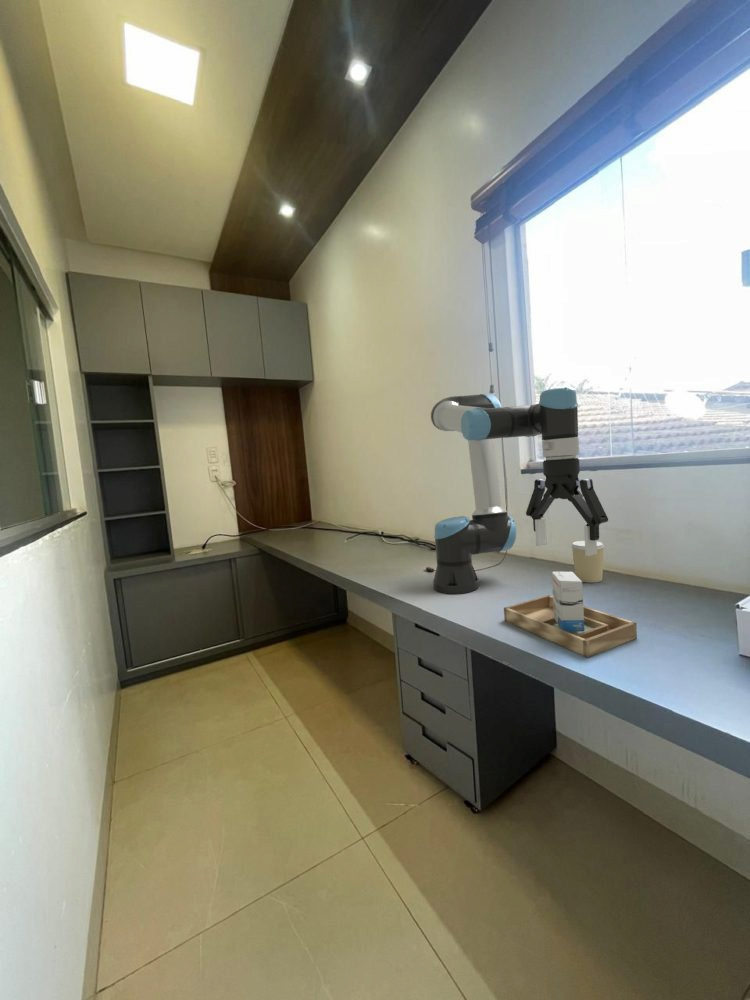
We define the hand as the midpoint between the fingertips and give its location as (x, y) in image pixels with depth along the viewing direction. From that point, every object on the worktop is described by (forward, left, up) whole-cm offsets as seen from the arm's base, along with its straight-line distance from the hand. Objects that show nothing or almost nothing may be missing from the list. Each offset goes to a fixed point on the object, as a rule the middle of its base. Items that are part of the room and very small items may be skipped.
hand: (564, 549), depth 92 cm
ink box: (0, 0, -18) cm, 18 cm away
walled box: (-2, +1, -20) cm, 20 cm away
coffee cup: (-24, +38, -20) cm, 49 cm away
